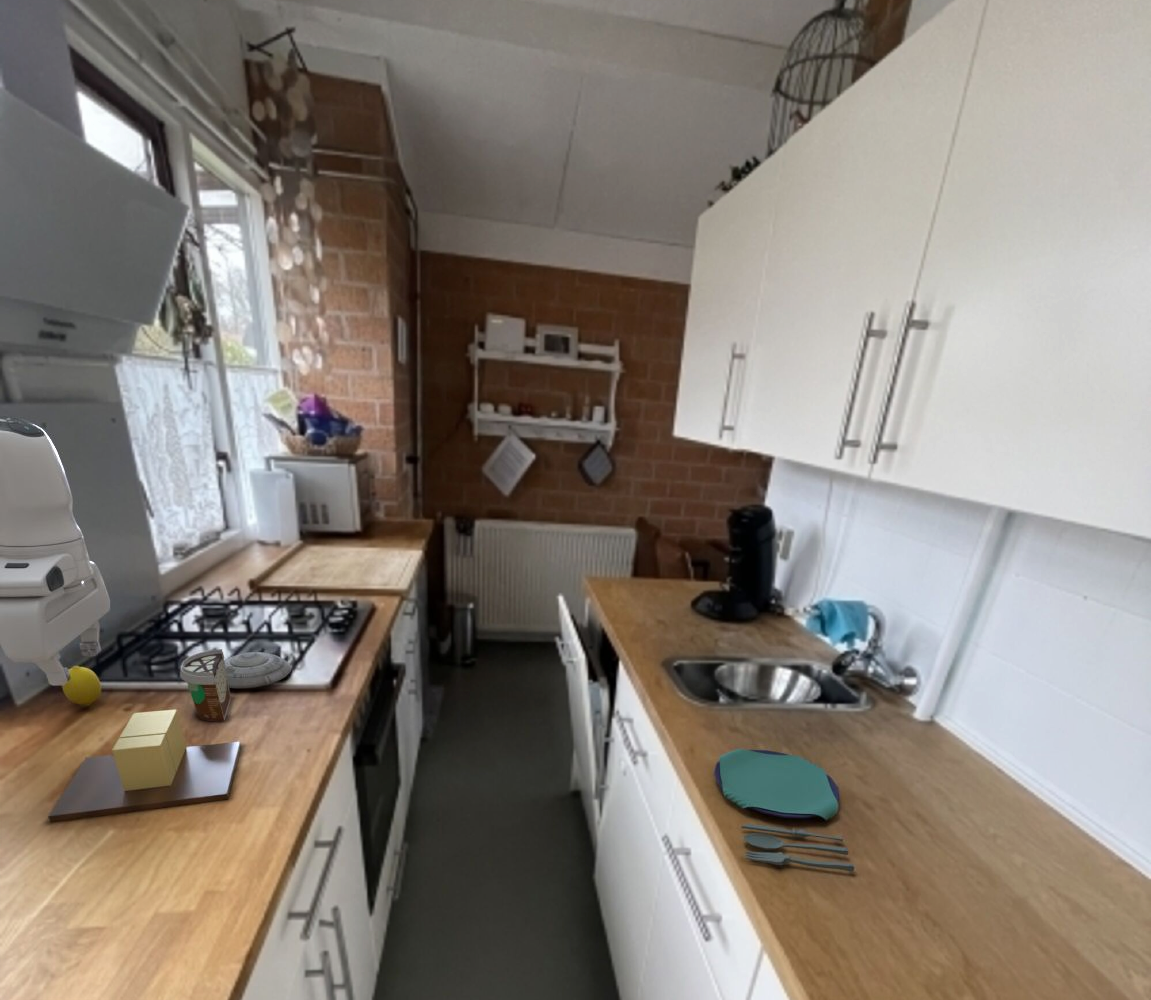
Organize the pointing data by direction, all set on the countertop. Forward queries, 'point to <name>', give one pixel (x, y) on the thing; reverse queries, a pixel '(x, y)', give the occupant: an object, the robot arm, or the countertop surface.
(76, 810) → the butter board
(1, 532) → the robot arm
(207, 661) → the food container
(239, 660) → the flying saucer
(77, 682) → the lemon
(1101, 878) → the countertop surface
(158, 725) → the butter block
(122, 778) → the butter slice
